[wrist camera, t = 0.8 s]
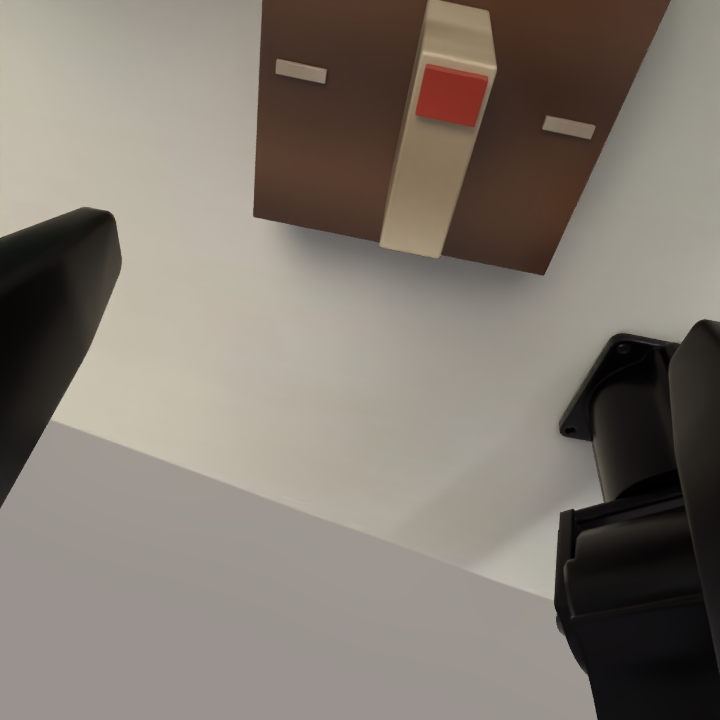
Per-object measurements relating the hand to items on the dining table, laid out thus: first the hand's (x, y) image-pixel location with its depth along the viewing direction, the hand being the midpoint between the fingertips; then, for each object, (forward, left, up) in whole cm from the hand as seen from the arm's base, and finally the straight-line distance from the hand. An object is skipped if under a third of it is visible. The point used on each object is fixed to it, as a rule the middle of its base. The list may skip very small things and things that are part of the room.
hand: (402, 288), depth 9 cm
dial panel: (-1, 0, -13) cm, 13 cm away
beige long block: (-1, -1, -10) cm, 10 cm away
